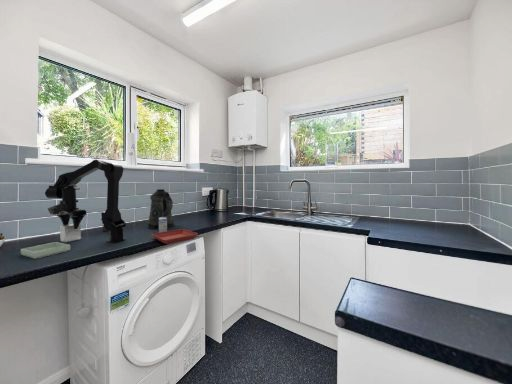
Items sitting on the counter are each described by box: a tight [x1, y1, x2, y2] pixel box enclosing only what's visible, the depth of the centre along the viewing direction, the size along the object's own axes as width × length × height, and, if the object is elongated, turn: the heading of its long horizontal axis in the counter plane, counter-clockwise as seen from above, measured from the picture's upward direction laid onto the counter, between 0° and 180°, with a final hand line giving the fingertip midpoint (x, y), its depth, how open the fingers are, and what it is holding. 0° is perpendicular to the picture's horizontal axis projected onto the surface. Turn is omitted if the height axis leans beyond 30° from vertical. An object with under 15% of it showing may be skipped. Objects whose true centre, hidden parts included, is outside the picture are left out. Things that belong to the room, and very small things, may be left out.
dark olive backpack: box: [146, 188, 175, 230], centre depth 151 cm, size 16×19×25 cm
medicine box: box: [158, 217, 168, 233], centre depth 134 cm, size 8×4×9 cm, turn 23°
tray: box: [20, 241, 71, 260], centre depth 97 cm, size 12×12×2 cm
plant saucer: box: [151, 228, 199, 245], centre depth 119 cm, size 18×18×3 cm
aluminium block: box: [59, 223, 82, 243], centre depth 117 cm, size 4×7×8 cm, turn 155°
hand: (70, 228), depth 117 cm, fingers open, 9 cm apart
